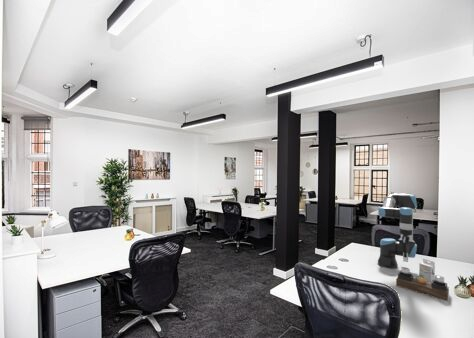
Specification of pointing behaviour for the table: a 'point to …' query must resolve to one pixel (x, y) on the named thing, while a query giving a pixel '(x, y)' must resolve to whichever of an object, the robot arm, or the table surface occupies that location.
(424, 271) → the ink box
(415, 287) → the brown long low box
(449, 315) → the table surface
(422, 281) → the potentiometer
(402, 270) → the knob
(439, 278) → the knob
